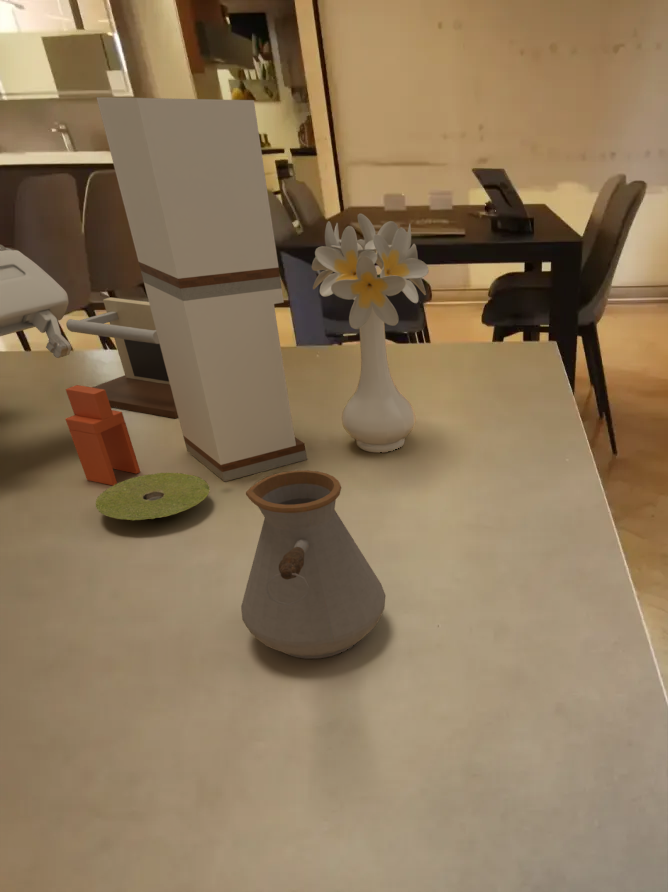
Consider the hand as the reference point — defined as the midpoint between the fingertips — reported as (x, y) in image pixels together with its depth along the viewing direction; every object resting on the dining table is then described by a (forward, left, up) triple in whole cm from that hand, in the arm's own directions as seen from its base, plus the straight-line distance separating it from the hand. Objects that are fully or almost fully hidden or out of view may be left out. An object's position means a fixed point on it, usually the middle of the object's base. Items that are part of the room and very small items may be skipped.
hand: (30, 364), depth 76 cm
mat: (+14, -12, -12) cm, 22 cm away
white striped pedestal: (+20, +3, -12) cm, 24 cm away
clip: (+6, -3, -12) cm, 14 cm away
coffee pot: (+35, -39, -12) cm, 54 cm away
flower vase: (+37, +6, -12) cm, 40 cm away
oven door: (+2, +25, -12) cm, 27 cm away
